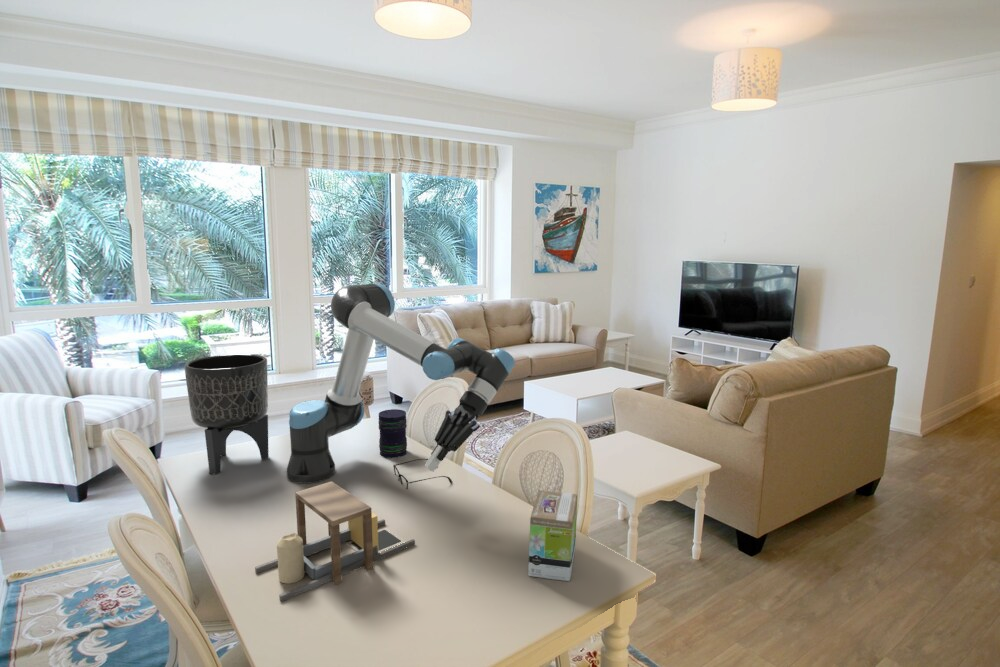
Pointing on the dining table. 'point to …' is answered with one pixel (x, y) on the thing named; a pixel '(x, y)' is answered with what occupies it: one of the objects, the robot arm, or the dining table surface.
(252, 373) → the planter
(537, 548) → the tea box
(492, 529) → the dining table surface
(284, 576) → the candle
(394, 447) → the dark blue cylinder
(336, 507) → the wooden stand with rails
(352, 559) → the yellow panel grey frame
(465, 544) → the dining table surface
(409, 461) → the eyeglasses
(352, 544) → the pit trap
